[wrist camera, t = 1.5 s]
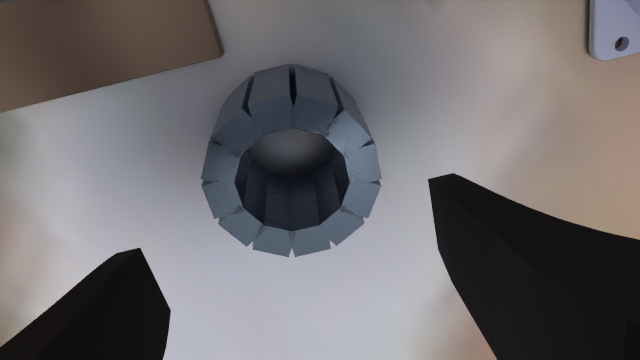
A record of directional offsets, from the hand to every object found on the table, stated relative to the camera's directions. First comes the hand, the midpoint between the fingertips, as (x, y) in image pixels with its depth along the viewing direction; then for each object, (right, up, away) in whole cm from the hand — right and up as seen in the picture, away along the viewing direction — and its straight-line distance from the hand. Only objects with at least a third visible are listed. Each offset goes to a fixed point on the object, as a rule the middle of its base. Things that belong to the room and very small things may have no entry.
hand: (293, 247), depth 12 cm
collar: (0, +3, +7) cm, 8 cm away
